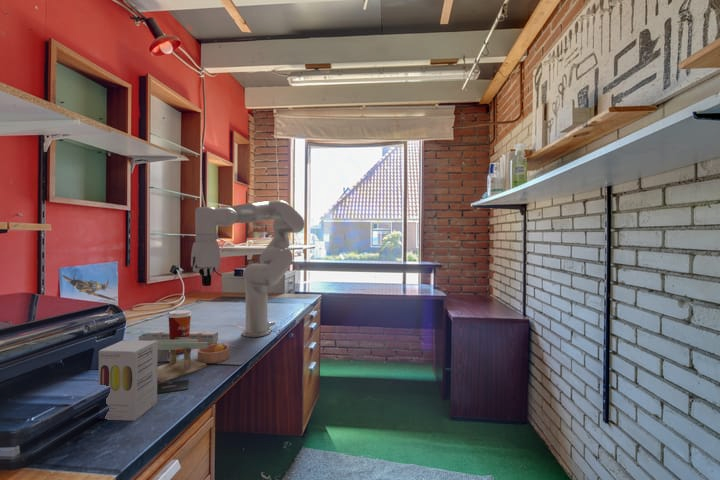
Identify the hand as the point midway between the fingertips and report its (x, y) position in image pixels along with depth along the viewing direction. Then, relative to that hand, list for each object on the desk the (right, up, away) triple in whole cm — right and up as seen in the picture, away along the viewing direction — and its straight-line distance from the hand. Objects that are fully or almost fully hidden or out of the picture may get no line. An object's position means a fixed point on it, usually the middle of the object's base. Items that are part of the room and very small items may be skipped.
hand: (206, 285), depth 137 cm
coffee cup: (-9, -25, -3) cm, 27 cm away
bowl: (+7, -25, -10) cm, 28 cm away
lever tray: (-3, -21, -19) cm, 29 cm away
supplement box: (+2, -26, -48) cm, 55 cm away
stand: (0, -25, -22) cm, 33 cm away
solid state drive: (+4, -26, -35) cm, 44 cm away
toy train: (-15, -25, +7) cm, 30 cm away
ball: (+8, -23, -8) cm, 25 cm away
